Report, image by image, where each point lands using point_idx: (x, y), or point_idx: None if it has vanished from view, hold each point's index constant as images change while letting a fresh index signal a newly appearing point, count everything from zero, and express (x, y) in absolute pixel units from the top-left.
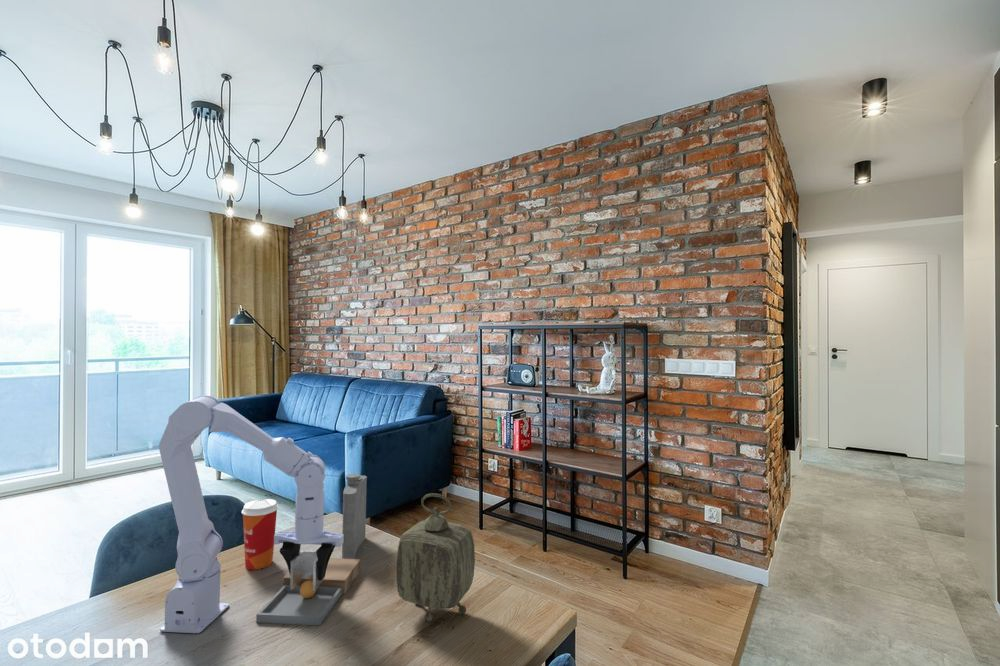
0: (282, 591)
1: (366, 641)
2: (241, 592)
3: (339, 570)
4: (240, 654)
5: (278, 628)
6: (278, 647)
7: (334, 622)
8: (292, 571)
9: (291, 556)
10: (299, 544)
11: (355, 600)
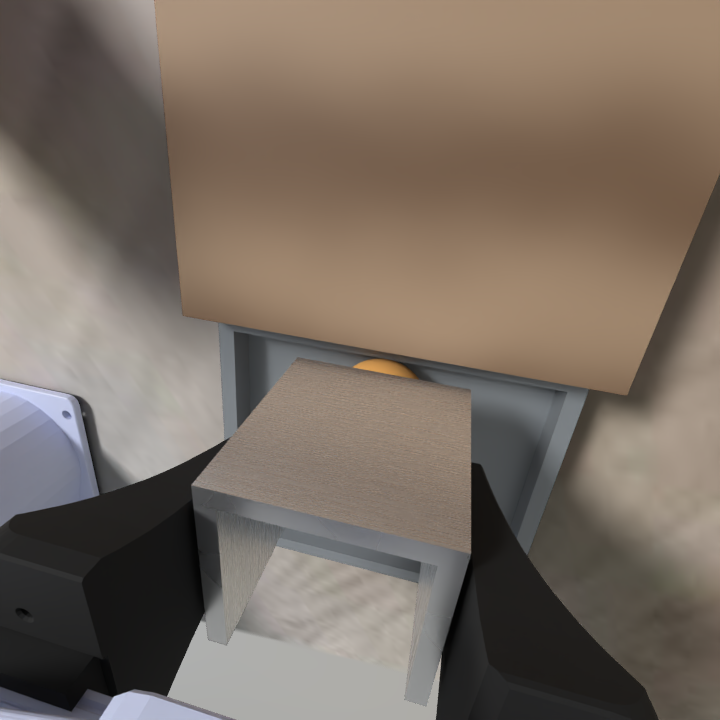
0: (238, 362)
1: (716, 691)
2: (43, 285)
3: (565, 228)
4: (286, 634)
5: None
6: (385, 636)
7: (565, 568)
8: (261, 571)
9: (184, 650)
10: (133, 580)
11: (674, 425)
